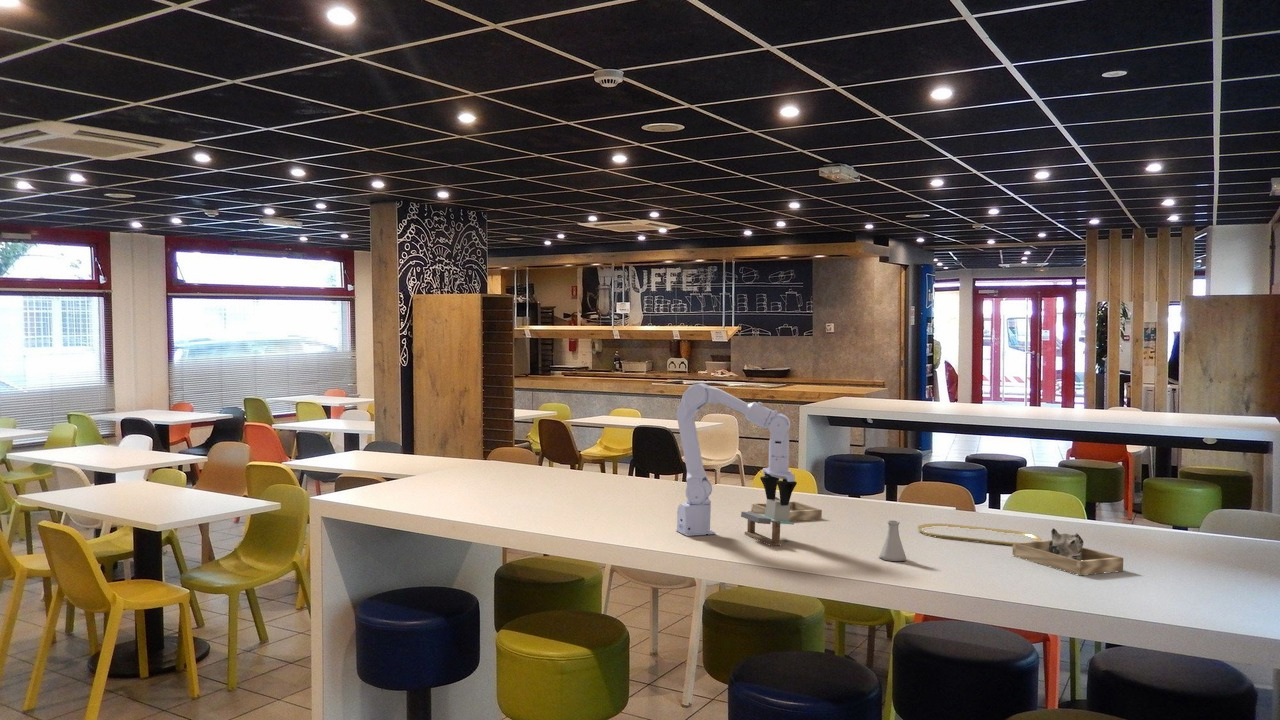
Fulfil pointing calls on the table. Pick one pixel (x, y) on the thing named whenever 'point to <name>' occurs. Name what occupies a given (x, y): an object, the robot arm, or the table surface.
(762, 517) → the trapdoor
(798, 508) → the square wooden tray
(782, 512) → the light grey cube
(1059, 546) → the grey lumpy piece
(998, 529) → the serving platter
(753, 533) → the frame
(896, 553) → the flask
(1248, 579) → the table surface
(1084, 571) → the shallow wooden tray
